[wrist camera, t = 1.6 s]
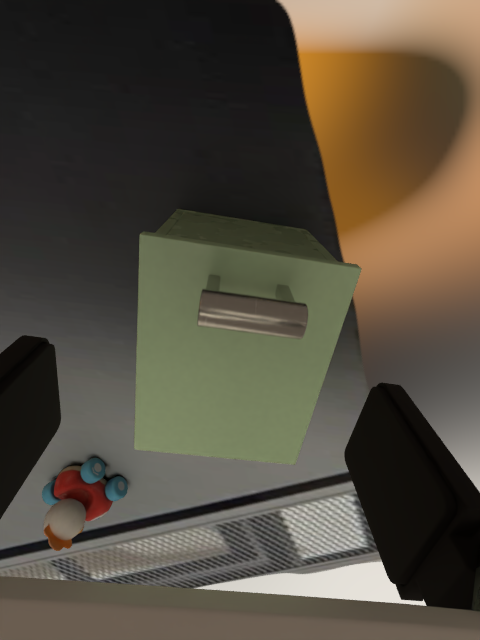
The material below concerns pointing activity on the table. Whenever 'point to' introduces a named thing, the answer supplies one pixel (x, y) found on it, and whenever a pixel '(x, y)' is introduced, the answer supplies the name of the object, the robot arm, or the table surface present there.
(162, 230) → the bin
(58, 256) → the table surface
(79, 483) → the toy car
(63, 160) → the table surface
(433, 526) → the robot arm
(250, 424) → the bin lid
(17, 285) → the table surface
